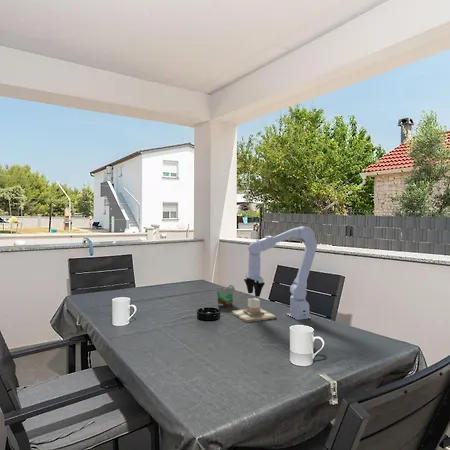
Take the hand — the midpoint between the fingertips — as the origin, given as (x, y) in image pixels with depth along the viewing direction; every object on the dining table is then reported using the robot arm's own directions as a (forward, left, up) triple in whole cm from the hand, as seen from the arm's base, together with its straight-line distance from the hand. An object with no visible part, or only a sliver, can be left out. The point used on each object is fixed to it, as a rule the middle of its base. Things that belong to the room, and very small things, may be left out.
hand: (253, 294), depth 175 cm
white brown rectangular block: (0, 0, -9) cm, 9 cm away
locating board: (0, 0, -10) cm, 10 cm away
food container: (+22, +4, -11) cm, 25 cm away
